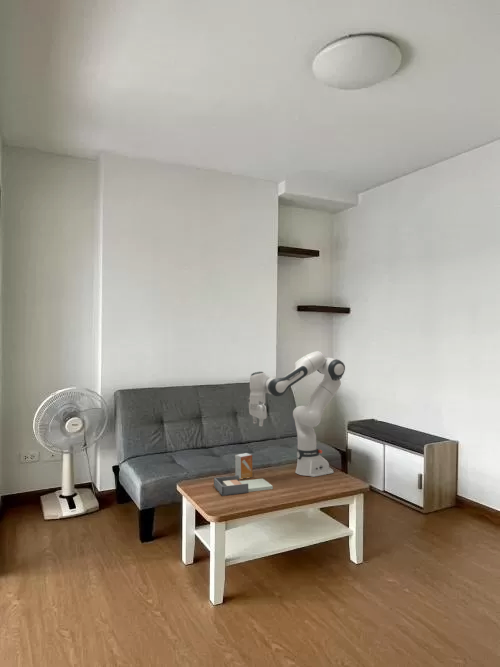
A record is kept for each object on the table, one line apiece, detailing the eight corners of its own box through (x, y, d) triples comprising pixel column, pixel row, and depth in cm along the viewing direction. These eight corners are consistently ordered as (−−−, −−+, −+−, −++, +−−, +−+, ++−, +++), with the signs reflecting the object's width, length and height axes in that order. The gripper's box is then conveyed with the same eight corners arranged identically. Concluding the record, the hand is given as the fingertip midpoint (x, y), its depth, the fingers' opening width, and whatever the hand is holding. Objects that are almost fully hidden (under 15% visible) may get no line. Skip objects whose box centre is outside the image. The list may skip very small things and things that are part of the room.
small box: (241, 479, 267) (240, 456, 267) (235, 477, 272) (234, 454, 272) (252, 477, 271) (252, 454, 271) (246, 474, 276) (246, 452, 277)
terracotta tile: (236, 484, 256) (236, 479, 256) (243, 490, 245) (243, 485, 245) (229, 484, 255) (229, 480, 255) (236, 491, 244) (236, 486, 244)
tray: (238, 483, 260) (238, 475, 260) (248, 492, 243) (248, 483, 243) (213, 486, 255) (213, 477, 255) (222, 496, 239) (222, 486, 239)
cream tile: (229, 484, 255) (229, 480, 255) (236, 491, 244) (236, 486, 244) (222, 485, 254) (222, 481, 254) (228, 492, 243) (228, 487, 243)
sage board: (263, 481, 263) (262, 478, 263) (272, 489, 249) (272, 485, 249) (239, 484, 258) (239, 481, 258) (247, 492, 244) (247, 488, 244)
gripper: (269, 402, 257) (269, 427, 257) (257, 398, 276) (257, 422, 276) (258, 402, 255) (258, 428, 255) (246, 399, 274) (247, 422, 274)
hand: (258, 425), depth 265 cm, fingers open, 8 cm apart
